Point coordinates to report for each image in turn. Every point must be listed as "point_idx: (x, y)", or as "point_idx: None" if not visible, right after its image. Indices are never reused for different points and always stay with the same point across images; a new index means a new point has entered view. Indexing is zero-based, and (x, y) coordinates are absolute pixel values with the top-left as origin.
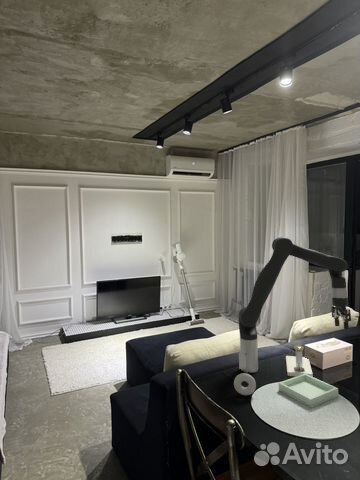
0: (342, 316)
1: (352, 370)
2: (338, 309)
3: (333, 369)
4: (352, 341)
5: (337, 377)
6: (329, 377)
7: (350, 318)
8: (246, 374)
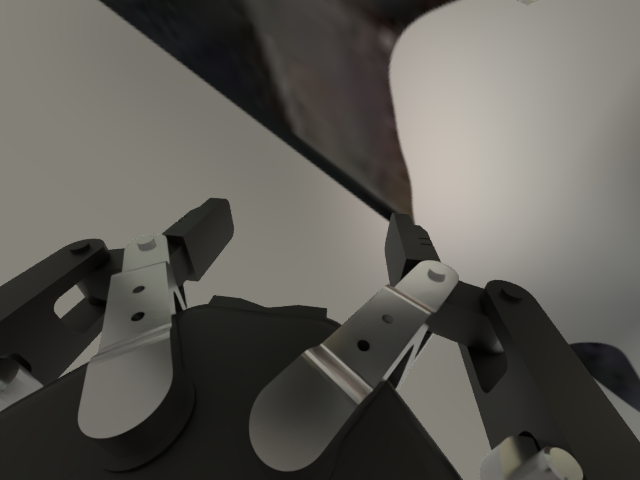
0: (114, 281)
1: (341, 173)
2: (209, 467)
3: (369, 99)
4: (577, 353)
5: (293, 64)
6: (297, 20)
7: (74, 309)
8: None
